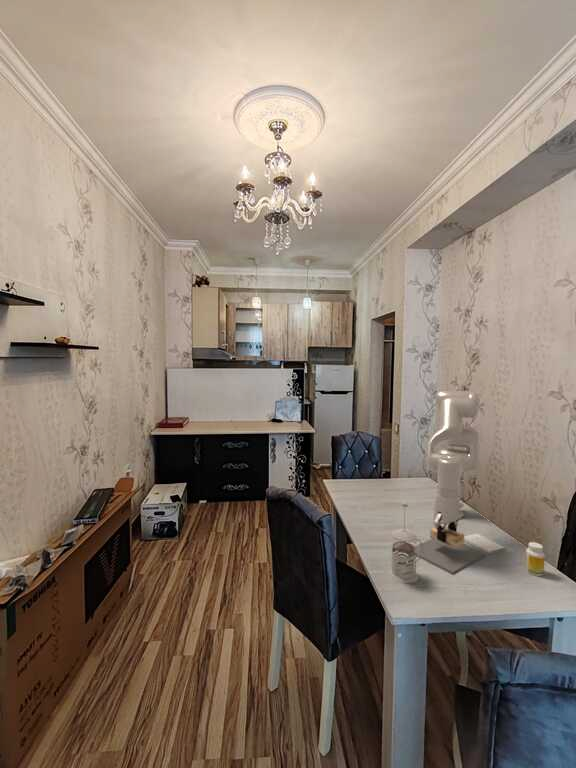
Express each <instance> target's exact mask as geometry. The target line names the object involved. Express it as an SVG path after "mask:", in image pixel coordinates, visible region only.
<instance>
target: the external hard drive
mask: <svg viewBox="0 0 576 768" xmlns="http://www.w3.org/2000/svg"><path fill="white" fill-rule="evenodd" d="M464 541H466V542H468V543H469V544H471V545H473V546H475V547H477V548H479V549H480V550H482V551H484V552H485V553H486V554H487V553H488V554H489V555H491V554H495V553H498V552H503V551H506V547H504V546H503V545H500V544H499V543H497V542H496V541H493V540H491V539H489V538H487V537H485V536H483V535H481V534H479V533H473V534H470V535H469V534H468V535H464Z"/></svg>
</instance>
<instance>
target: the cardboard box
mask: <svg viewBox="0 0 576 768" xmlns="http://www.w3.org/2000/svg"><path fill="white" fill-rule="evenodd" d="M442 528H443V526H442ZM429 532H430V533H429V534H430V535H429V538H430V539H435V540H437V541H439V540H438V539H437V529H436V526H434V527H432V528H430V529H429ZM445 532H446V542H445V544H447V545H450V546H452V547H455V548H457V547H458V546H460V545H462V544H465V540H464V537H465V534H463V533H460V532H458V531H457V532H456V531H453V530H450V529H448V527H446V529H445ZM440 542H442V541H440ZM442 543H444V542H442Z"/></svg>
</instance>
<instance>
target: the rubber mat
mask: <svg viewBox="0 0 576 768" xmlns="http://www.w3.org/2000/svg"><path fill="white" fill-rule="evenodd" d="M421 543H422V544H423V546H424V554H423V546H422V551H421V545H422V544H420V543H419V544H417V545H414V547H415V550H414V555H415V552H416V556H418V555H419V553H420V551H421V553H420V555H419V556H418V557H417V558H418V559H420V558H421V556H422V554H423V556H422V560H423V559H424V561H425V562H427V563H429V564H431V565H433V566H435V567H437V568H439V569H440V570H443V571H445V572H447V573H449V574H451V575H454V574H456V573H457V572H459V571H461V570H463V569H465V568H466V567H467V566H469V565H471V564H473V563H474V562H476V561H478V560H480V559H481V558H483V557H485V556H487V555H486V554H487V552H485V551H484V552H483V550H482V551H481V549H480V550H479V549H477V548H475V547H472V546H470V545H468V544H466V543H463V544H462V545H460V546H458V547H457V548H455V547H452V546H450V545H447V544H445V543H442V542H440V541H437V540H435V539H432V538H430V539H428V540H426V541H424V542H421Z"/></svg>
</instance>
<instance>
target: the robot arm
mask: <svg viewBox="0 0 576 768" xmlns="http://www.w3.org/2000/svg"><path fill="white" fill-rule="evenodd" d="M434 397H435V403H436V405H437V408H438V411H439V425H438V427H439V428H438V430H437V431H435V432H434V433H433V434H432V435H431V437H429V440H428V441H427V445H426V448H425V450H426V451H425V466H426V468H427V470H429V471H431V472H435V473H437V481H436V482H437V488H436V497H435V499H434V500H435V501H434V510H433V520H434V521H433V526H434V527H436V529H437V539H438V540H439V541H442V542H444V543H445V542H446V532H445V529H446V528H447V529H450V530H453V531H456V532H458V531H457V530H458V525H459V524H458V522H459V520H461V519H462V518H464V513H463V512H462V511H461V508H464V507H465V506H464V503H463V502H461V482H462V481H461V480H462V479H461V478H460V476H461V474H462V473H463V472H464V471H465V472H475V471H477V470H478V466H479V458H480V456H479V453H480V452H479V450H480V445H479V444H480V439H479V432H478V430H477V429H476V428H474V427H471V426H463V425H462V424H463V418H470V419H473V418H476V417H477V416H478V414H479V409H480V408H479V407H480V406H479V397H478V394H477V393H476V392H475V391H473V390H471V391H469V390H440V391H437V392H436V393H435V396H434ZM440 443H442V444H443V445H444V446H447V448H440V449H439V450H438V452H435V451H434V450H435V447H436V446H437V445H438V444H440ZM449 447H458V448H449ZM459 448H466V449H459ZM442 527H443V528H442Z"/></svg>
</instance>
